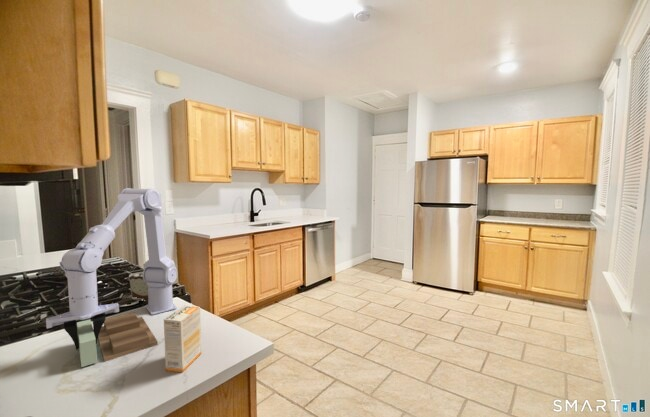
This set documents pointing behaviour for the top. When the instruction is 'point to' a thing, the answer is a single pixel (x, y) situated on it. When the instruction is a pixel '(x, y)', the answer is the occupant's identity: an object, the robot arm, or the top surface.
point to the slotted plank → (107, 346)
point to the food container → (138, 286)
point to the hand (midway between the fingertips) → (86, 345)
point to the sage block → (86, 343)
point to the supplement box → (182, 338)
